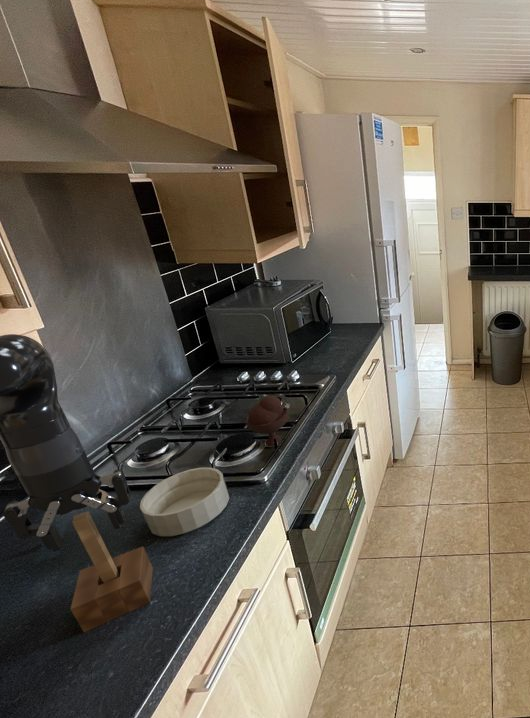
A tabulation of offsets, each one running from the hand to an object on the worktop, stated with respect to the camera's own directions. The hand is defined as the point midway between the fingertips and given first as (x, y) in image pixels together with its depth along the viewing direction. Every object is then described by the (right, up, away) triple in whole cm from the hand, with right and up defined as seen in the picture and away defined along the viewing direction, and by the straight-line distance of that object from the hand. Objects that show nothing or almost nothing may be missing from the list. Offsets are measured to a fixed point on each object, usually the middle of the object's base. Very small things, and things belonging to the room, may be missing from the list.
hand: (89, 535), depth 72 cm
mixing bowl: (-2, -7, +25) cm, 26 cm away
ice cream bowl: (+4, +3, +50) cm, 50 cm away
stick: (0, -14, +6) cm, 16 cm away
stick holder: (0, -14, +6) cm, 16 cm away
